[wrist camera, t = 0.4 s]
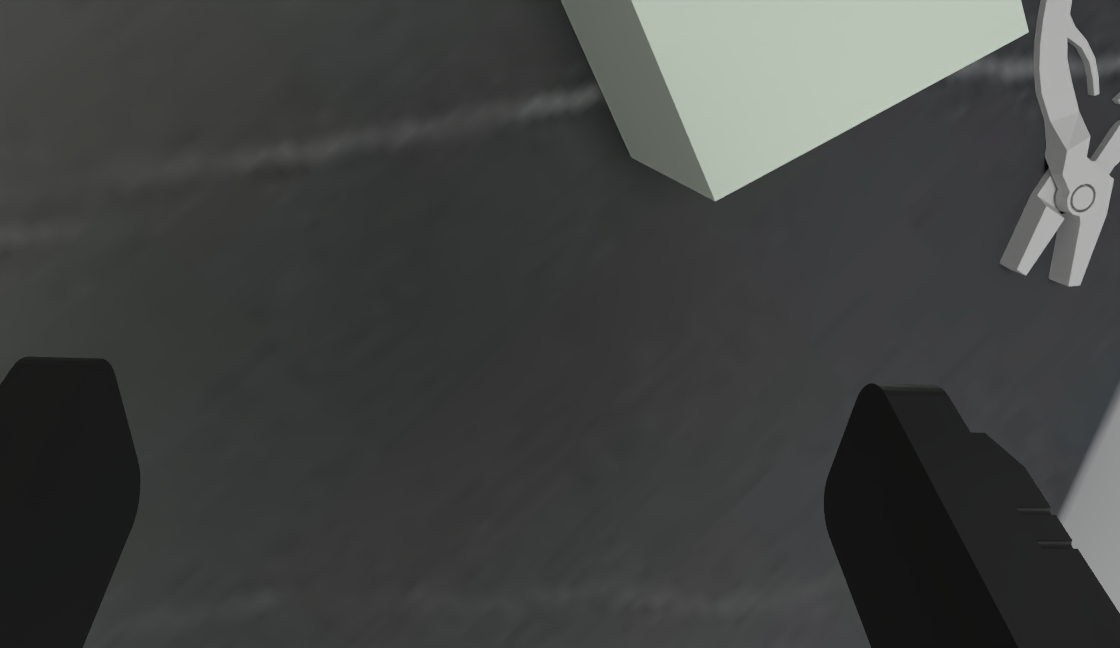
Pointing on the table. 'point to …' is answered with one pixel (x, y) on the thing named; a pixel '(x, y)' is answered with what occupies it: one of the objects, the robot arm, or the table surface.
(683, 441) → the table surface
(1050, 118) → the pliers
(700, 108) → the toolbox
